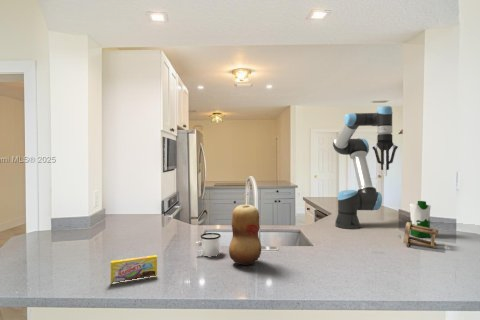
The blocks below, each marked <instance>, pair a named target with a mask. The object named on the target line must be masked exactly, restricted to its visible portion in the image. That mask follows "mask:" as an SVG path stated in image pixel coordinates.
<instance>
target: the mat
mask: <svg viewBox="0 0 480 320" xmlns="http://www.w3.org/2000/svg"><path fill="white" fill-rule="evenodd" d="M417 242H420V241H417ZM422 243H424V242H422ZM426 244H428V243H426ZM430 245H431V244H430ZM434 246H437V248H436V249H434V248H430V247H426V246H422V245H418V244H414V243H410V244H409V249H417V250H424V251H431V252H436V253H437V252H439V253H443V254H444V253H446V252H445V245H444V244H443V243H442V244H441V243H437V244H436V245H434Z"/></svg>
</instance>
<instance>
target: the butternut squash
mask: <svg viewBox="0 0 480 320" xmlns="http://www.w3.org/2000/svg"><path fill="white" fill-rule="evenodd" d="M259 212H260V211H259V210H258V208H257V207H256V206H254V205H253V204H252V205H251V204H240V205H237V206H235V208H234V209H233V211H232V214H231V215H232V216H231V217H232V218H231V229H232V238H231V241H230V244H229V247H228V253H229V254H228V255H229V258H230V259H231V260H232V261H233V262H234V263H236V264H239V263H240V265H242V266H248V265H252V264H253V263H255V262H256V261H258V260H259V258H260V256H261V254H262V244H261V241H260V237H259V232H260V228H261V227H260V213H259Z"/></svg>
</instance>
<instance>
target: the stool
mask: <svg viewBox="0 0 480 320" xmlns="http://www.w3.org/2000/svg"><path fill="white" fill-rule="evenodd" d="M411 230H415V231H419V232H424V233H428V234H430V235H431V236H430V240H427V239H423V238H417V237H415V236H410V235H411ZM436 236H438V237H439V229H436V228H431V227H430V228H427V227H422V226H418V225H413V224H411V221H407V222H406V224H405V229H404V236H403V243H405V244H407V243H408V242H410V244H411V243H414V244H418V245H422V246H426V247H430V248H434V249H436V248H437V246H434V245H436V244H438V243H437V242H436V241H435V240H436V239H435V238H436ZM409 239H410V240H409ZM417 241H420V242H417ZM422 242H424V243H422ZM426 243H428V244H426ZM430 244H431V245H430Z"/></svg>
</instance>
